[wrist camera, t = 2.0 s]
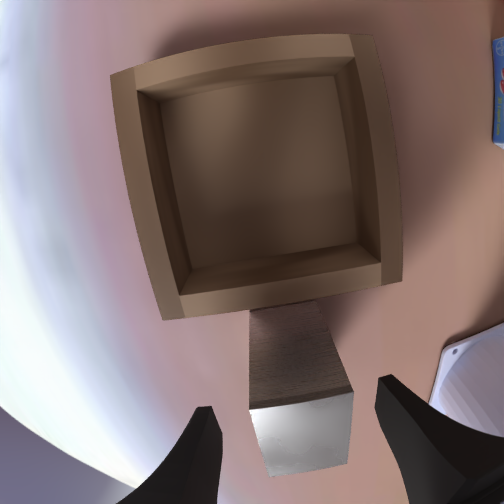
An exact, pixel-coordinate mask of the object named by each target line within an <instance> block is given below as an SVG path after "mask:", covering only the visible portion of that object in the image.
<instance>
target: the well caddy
mask: <svg viewBox="0 0 504 504" xmlns="http://www.w3.org/2000/svg"><path fill="white" fill-rule="evenodd" d="M110 80H111V90H112V99H113V107H114V115H115V122H116V129H117V135H118V142H119V148H120V154H121V159H122V165H123V170H124V175H125V180H126V185H127V190H128V195H129V200H130V204H131V209H132V213H133V217H134V221H135V226H136V230H137V234H138V238H139V242H140V245H141V249H142V253H143V257H144V260H145V264H146V268H147V271H148V275H149V278H150V281H151V285H152V288H153V291H154V295H155V298H156V301H157V304H158V307H159V311H160V314H161V317H162V320H172V319H181V318H190V317H198V316H206V315H214V314H221V313H229V312H236V311H243V310H249V309H256V308H263V307H269V306H275V305H282V304H288V303H294V302H299V301H305V300H311V299H316V298H322V297H327V296H333V295H338V294H343V293H348V292H353V291H358V290H363V289H368V288H373V287H378V286H382V285H387V284H392V283H396V282H401V281H402V268H403V241H402V211H401V195H400V182H399V171H398V162H397V153H396V146H395V138H394V131H393V125H392V119H391V113H390V107H389V102H388V97H387V92H386V87H385V83H384V78H383V74H382V69H381V65H380V61H379V57H378V53H377V50H376V46H375V42H374V39H373V35H362V34H304V35H288V36H276V37H266V38H258V39H250V40H243V41H236V42H230V43H224V44H219V45H214V46H209V47H204V48H199V49H195V50H191V51H186V52H182V53H178V54H175V55H171V56H167V57H164V58H160V59H157V60H153V61H150V62H147V63H144V64H140V65H137V66H134V67H131V68H129V69H126V70H123V71H120V72H117V73H115V74H112V75H110Z"/></svg>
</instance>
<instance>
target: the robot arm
mask: <svg viewBox="0 0 504 504" xmlns="http://www.w3.org/2000/svg"><path fill="white" fill-rule="evenodd" d="M375 411H376V414H377V417H378V420H379V423H380V426H381V429H382V431H383V433H384V435H385V437H386V439H387V442H388V444H389V446H390V448H391V450H392V452H393V454H394V456H395V459H396V461H397V463H398V466H399V468H400V471H401V474H402V477H403V481H404V484H405V488H406V492H407V495H408V499H409V504H504V323H502V324H499V325H497V326H495V327H493V328H490V329H488V330H486V331H483V332H481V333H479V334H476V335H474V336H471V337H469V338H466V339H464V340H461V341H459V342H456V343H453V344H451V345H448V346H446V347H445V348H444V349H443V351H442V355H441V359H440V363H439V368H438V372H437V376H436V380H435V383H434V387H433V391H432V394H431V398H430V401H429V404H428V403H426V402H425V401H424V400H422V399H421V398H420V397H418V396H417V395H416V394H415V393H413V392H412V391H411V390H410V389H408V388H407V387H406V386H405V385H404V384H403V383H401V382H400V381H399V380H398V379H397V378H396V377H394V376H393V375H392V374H390V375H386V376H383V377H379V378H378V387H377V395H376V402H375ZM445 414H447V416H446V415H445ZM222 454H223V438H222V432H221V429H220V427H219V424H218V422H217V419H216V417H215V414H214V412H213V409H212V406H205V407H197V408H196V410H195V412H194V414H193V415H192V417H191V419H190V421H189V423H188V425H187V426H186V428H185V430H184V431H183V433H182V435H181V436H180V438H179V439H178V441H177V442H176V444H175V446H174V447H173V448H172V450H171V451H170V452H169V454H168V455H167V457H166V458H165V459H164V461H163V462H162V463H161V464H160V465H159V467H158V468H157V469H156V470H155V471H154V472H153V473H152V474H151V475H150V476H149V477H148V478H147V479H146V480H145V481H144V482H143V483H142V484H141V485H140V486H139V487H138V488H136V489H135V490H134V491H133V492H131V493H130V494H129V495H128V496H126V497H125V498H124V499H122V500H121V501H119V502H118V503H116V504H217V495H218V486H219V479H220V471H221V463H222Z"/></svg>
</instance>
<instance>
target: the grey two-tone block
mask: <svg viewBox="0 0 504 504" xmlns="http://www.w3.org/2000/svg"><path fill="white" fill-rule="evenodd" d="M353 396H354V391H353V389H352V386H351V384H350V381H349V379H348V376H347V374H346V372H345V369H344V367H343V364H342V362H341V359H340V357H339V355H338V352H337V350H336V347H335V345H334V343H333V340H332V338H331V336H330V333H329V331H328V328H327V326H326V324H325V321H324V319H323V317H322V314H321V312H320V310H319V308H318V305H317V303H316V301H311V302H306V303H300V304H294V305H288V306H282V307H276V308H269V309H263V310H256V311H250V312H249V411H250V414H251V418H252V421H253V425H254V428H255V432H256V435H257V439H258V442H259V446H260V449H261V453H262V456H263V459H264V463H265V466H266V469H267V473H268V476H269V477H273V476H281V475H289V474H296V473H302V472H308V471H314V470H320V469H325V468H330V467H334V466H339V465H343V464H347V460H348V452H349V443H350V433H351V422H352V410H353Z"/></svg>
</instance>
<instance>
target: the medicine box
mask: <svg viewBox="0 0 504 504" xmlns="http://www.w3.org/2000/svg"><path fill="white" fill-rule="evenodd" d="M492 50H493V60H494V80H495V116H494V133H493V143H494V144H496V145H497V146H499V147H501V148H502V149H504V37H501V38H498V39H495V40H493V44H492Z"/></svg>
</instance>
